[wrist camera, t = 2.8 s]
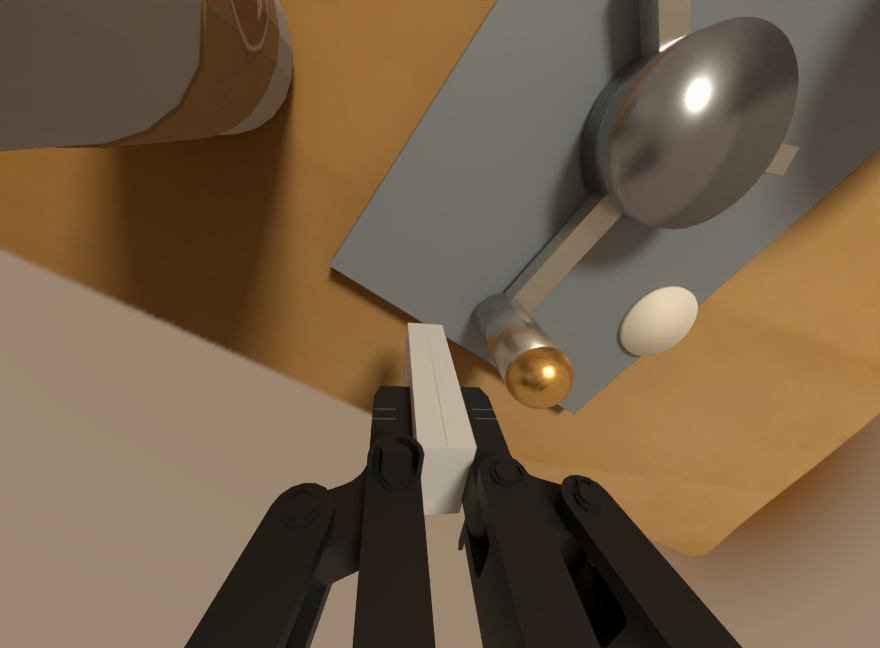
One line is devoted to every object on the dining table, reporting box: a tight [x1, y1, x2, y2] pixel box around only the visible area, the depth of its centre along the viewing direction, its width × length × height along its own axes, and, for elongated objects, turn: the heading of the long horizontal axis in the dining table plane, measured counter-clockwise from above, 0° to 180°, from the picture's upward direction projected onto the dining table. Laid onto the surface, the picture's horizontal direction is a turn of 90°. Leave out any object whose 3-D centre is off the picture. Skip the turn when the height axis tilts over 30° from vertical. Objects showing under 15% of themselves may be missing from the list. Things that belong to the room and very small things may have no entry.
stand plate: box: [329, 0, 880, 414], centre depth 17 cm, size 21×24×2 cm
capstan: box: [475, 0, 800, 409], centre depth 13 cm, size 16×12×7 cm
